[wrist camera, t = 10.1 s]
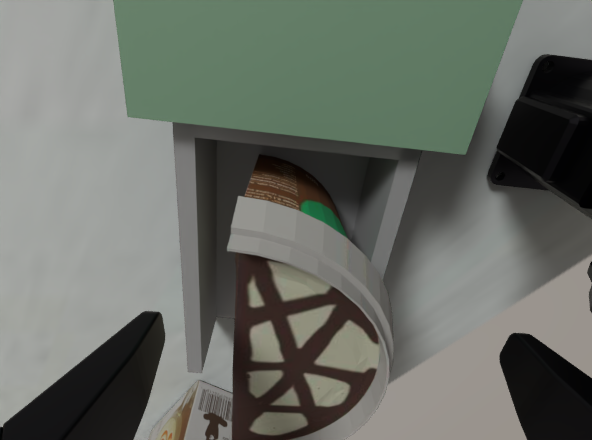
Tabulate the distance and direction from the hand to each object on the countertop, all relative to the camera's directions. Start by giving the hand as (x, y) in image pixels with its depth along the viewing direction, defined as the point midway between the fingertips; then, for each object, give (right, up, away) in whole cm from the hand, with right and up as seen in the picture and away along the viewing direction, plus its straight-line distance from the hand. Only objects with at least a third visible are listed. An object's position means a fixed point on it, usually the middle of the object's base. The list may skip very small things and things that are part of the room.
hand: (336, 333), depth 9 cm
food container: (0, +2, +12) cm, 12 cm away
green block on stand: (-1, +5, +11) cm, 12 cm away
